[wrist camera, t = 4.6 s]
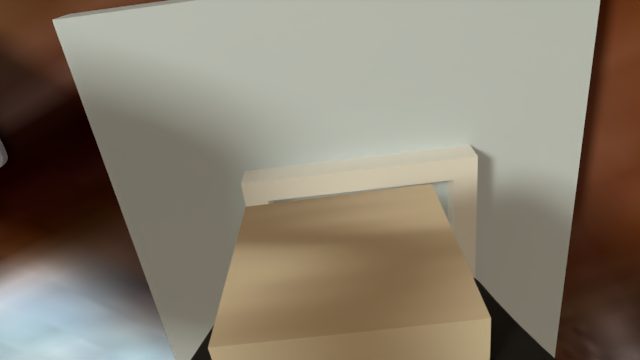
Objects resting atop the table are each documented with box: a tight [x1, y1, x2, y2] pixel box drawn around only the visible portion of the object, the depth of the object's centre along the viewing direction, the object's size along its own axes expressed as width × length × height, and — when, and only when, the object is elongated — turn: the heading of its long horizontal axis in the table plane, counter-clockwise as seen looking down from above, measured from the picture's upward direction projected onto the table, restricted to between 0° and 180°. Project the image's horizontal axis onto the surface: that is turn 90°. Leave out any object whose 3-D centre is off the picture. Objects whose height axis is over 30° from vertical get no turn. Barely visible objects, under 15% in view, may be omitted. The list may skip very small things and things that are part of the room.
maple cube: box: [208, 184, 491, 360], centre depth 11 cm, size 4×4×4 cm
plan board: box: [52, 0, 600, 360], centre depth 19 cm, size 17×18×2 cm
